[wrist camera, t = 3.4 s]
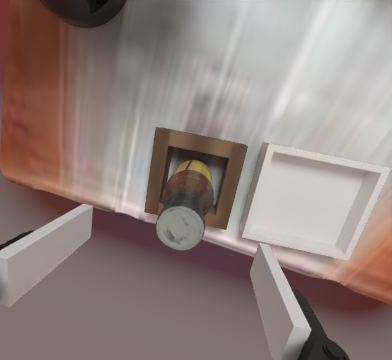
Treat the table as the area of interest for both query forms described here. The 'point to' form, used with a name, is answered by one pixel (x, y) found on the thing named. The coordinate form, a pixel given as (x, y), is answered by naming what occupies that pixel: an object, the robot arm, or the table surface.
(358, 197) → the plastic tray
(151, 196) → the walnut holder
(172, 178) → the sauce bottle
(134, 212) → the table surface
